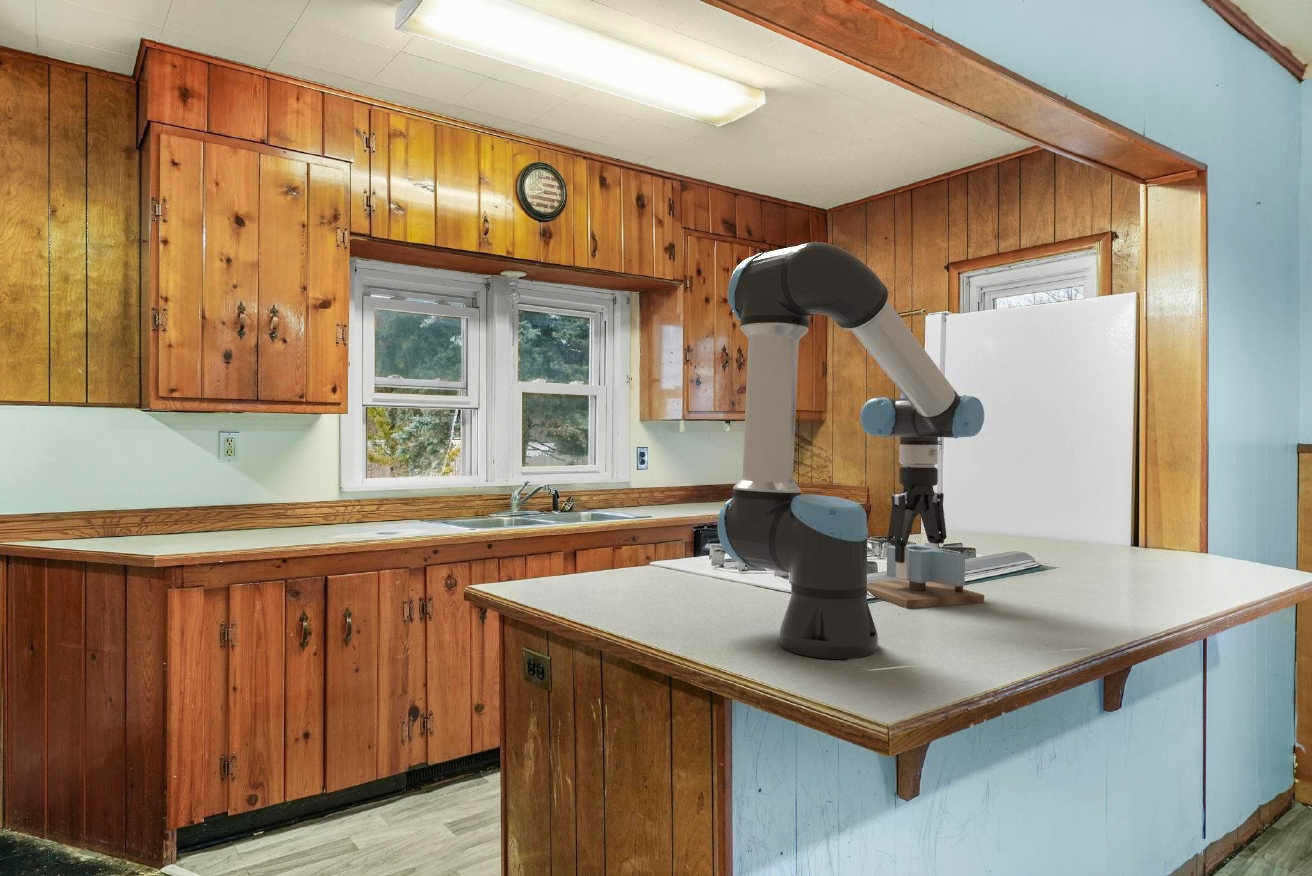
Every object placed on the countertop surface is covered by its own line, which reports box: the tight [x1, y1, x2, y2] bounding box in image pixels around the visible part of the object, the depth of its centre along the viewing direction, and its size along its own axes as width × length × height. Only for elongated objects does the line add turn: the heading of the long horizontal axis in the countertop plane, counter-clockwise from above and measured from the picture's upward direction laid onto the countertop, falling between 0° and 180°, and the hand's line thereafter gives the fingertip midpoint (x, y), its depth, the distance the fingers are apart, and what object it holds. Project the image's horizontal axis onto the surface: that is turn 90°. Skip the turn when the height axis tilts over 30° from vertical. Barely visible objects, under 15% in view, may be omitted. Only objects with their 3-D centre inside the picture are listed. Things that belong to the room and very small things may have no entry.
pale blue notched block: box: [886, 543, 966, 587], centre depth 162 cm, size 14×8×6 cm, turn 34°
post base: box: [867, 579, 985, 609], centre depth 165 cm, size 18×18×9 cm
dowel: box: [954, 585, 964, 592], centre depth 163 cm, size 2×2×6 cm
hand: (917, 576), depth 165 cm, fingers closed on pale blue notched block, 8 cm apart
